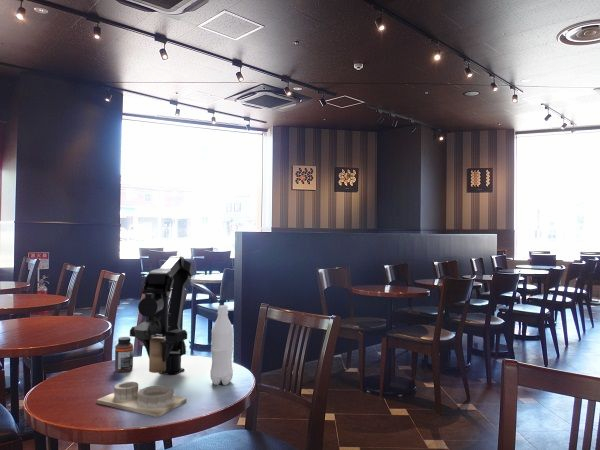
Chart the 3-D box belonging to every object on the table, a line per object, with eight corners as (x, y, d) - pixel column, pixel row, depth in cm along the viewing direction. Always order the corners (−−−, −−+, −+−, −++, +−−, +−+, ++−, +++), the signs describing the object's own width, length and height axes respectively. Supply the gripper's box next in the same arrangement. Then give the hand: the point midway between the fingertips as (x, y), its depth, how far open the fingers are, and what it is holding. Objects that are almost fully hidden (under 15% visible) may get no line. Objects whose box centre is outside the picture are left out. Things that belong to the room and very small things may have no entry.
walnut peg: (156, 367, 145) (157, 336, 145) (169, 369, 143) (169, 337, 143) (145, 371, 140) (146, 339, 140) (158, 373, 138) (158, 341, 138)
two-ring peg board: (128, 389, 138) (128, 376, 139) (186, 401, 130) (186, 387, 130) (96, 403, 128) (97, 389, 128) (157, 417, 119) (158, 402, 119)
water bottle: (227, 387, 142) (229, 308, 142) (206, 385, 143) (208, 307, 144) (235, 380, 149) (237, 304, 149) (215, 378, 150) (216, 303, 151)
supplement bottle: (115, 368, 160) (116, 336, 160) (133, 367, 161) (133, 335, 162) (113, 373, 154) (114, 340, 154) (132, 372, 156) (133, 339, 156)
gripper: (116, 312, 138) (115, 363, 138) (164, 318, 131) (163, 371, 130) (142, 307, 148) (141, 354, 148) (188, 312, 141) (187, 361, 141)
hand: (157, 360), depth 142 cm, fingers closed on walnut peg, 5 cm apart
